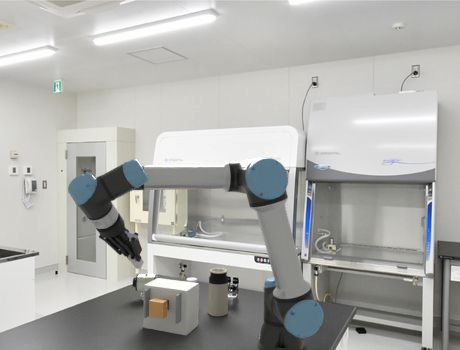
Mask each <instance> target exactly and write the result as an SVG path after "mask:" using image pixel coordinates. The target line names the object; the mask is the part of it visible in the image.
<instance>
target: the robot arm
mask: <svg viewBox="0 0 460 350" xmlns="http://www.w3.org/2000/svg"><path fill="white" fill-rule="evenodd" d="M288 184H289V175H288V171H287V170H286V168H285V167H284V165H283V164H282V162H280V161H278V160H277V159H274V158H271V157H267V156H266V157H265V156H261V157H257V158H249V159H246V160H241V161H239V160H238V161H231V162H230V161H229V162H225V163H224V164H223V165H220V164H219V165H141V163H140V161H139V160H138V159H137V158H133V159H130V160H129V161H125V162H123V163H122V164H119V165H118V166H116V167H115V168H113V169H111V170H109V171H107V172H105V173H104V174H101V175H99V176H96V177H95V176H94V175H93V174H92V173H84V174H79V175H77V176H75V177H74V178H73V179H72V180H71V181H70V183H69V184H68V188H67V192H68V194H69V195H70V197H71V199H72V200H73V201H74V205H76V206H78V208H79V209H80V210H81V212H82V213H83V214H84V215H85V216H86V217H87V219H88V220H89V221H90V223H91V224H92V225H93V227H94V228H95V229H96V231H97V232H98V233H99V236H98V238H99V239H100V240H102V241H103V242H105V243H106V244H107V245H108V246H109V247H110V248H111V249H112V250H114V252H115V253H117V254H118V256H121V255H123V256H124V257H126V259H128V261H129V262H130V263H131V264H132V265H133V267H134V268H135V269H136V270H137V269H139V270H141V269H142V267H143V264H144V263H145V261H144V260H143V259H142V256H141V253H142V251H143V248H142V245H141V242H140V240H139V233H138V232H134V233H132V232H130V230H129V229H128V228H127V227H126V226H125V220H124V218H123V217H122V215H121V214H120V212H119V211H118V209H117V208H116V207H115V205H114V203H113V201H115V200H117V199H119V198H121V197H122V196H124V195H126V194H128V193H130V192H132V191H158V190H159V191H165V190H166V191H167V190H168V191H170V190H224V191H225V192H226V193H231V192H232V193H241V194H245V195H246V198H247V201H248V205H249V208H250V209H251V210H253V211H255V212H256V215H257V220H258V222H259V223H258V224H259V227H260V231H261V234H262V238H263V241H264V242H263V243H264V245H265V249H266V253H267V256H268V260H269V264H270V268H271V271H272V275H273V276H271V277H268V278H266V279H265V280H264V283H263V284H264V286H263V322H262V323H263V324H262V326H261V328H260V332H259V334H258V341H257V345H258V348H259V349H260V350H304V340H303V339H306V338H308V337H309V338H310V337H312V336H313V335H315V334H316V333H317V332H318V331H319V330H320V327H321V326H322V325H323V322H324V310H323V308H322V306H321V305H320V303H319V302H318V301H316V300H315V297H314V293H313V290H312V289H313V288H312V285H311V283H310V282H308V281H306V280H305V278H304V274H303V270H302V266H301V263H300V259H299V256H298V251H297V248H296V244H295V240H294V237H293V232H292V228H291V224H290V220H289V217H288V213H287V210H286V205H285V204H286V202H287V201H288V199H289V196H288V192H287V187H288Z"/></svg>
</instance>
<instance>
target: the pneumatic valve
mask: <svg viewBox="0 0 460 350" xmlns="http://www.w3.org/2000/svg"><path fill="white" fill-rule="evenodd" d="M157 278H159V276H158V274H157V273H155V274H153V273H151V274H150V273H147V272H145V273H144V274H143V273H142V274H141V273H139V274H138V273H137V275H136V276H135V277H133V279H132V288H134V289H135V291H136V292H138V291H139V292H141V291H142V292H141V293H140V295H139V298H140V299H141V301H144V285H145V284H147V283H149V282H151V281H153V280H155V279H157Z"/></svg>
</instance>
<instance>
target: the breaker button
mask: <svg viewBox="0 0 460 350" xmlns="http://www.w3.org/2000/svg"><path fill="white" fill-rule="evenodd" d="M168 306H169V301H167V300H163V299H156V298H153V299H151V300H150V301H149V317H154V318H160V319H164V318H165V317H166V316H167V307H168Z"/></svg>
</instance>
